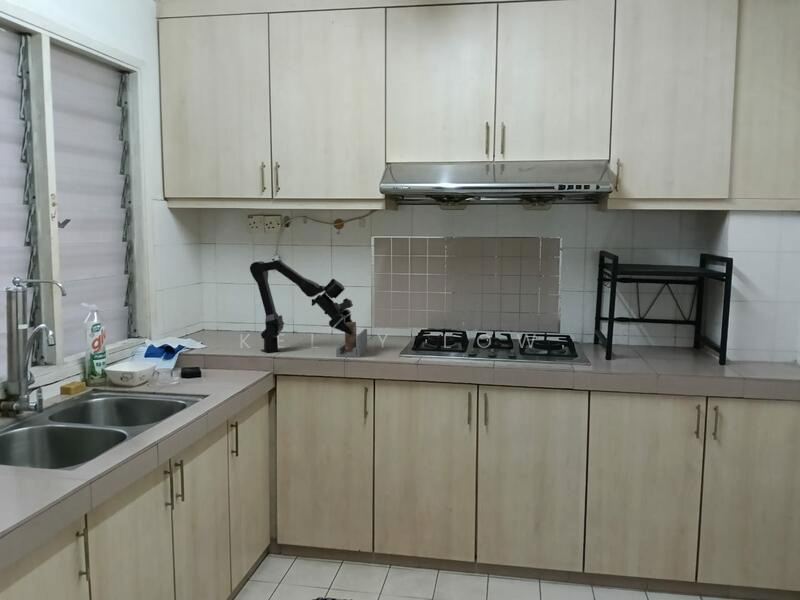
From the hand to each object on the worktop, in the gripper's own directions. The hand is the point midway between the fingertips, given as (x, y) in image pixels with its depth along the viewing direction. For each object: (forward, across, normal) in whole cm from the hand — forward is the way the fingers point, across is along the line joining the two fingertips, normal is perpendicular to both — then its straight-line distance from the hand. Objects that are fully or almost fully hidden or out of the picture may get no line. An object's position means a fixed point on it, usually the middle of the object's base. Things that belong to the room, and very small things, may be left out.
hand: (353, 332), depth 274 cm
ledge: (+5, 0, +7) cm, 9 cm away
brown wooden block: (+5, 0, +7) cm, 8 cm away
